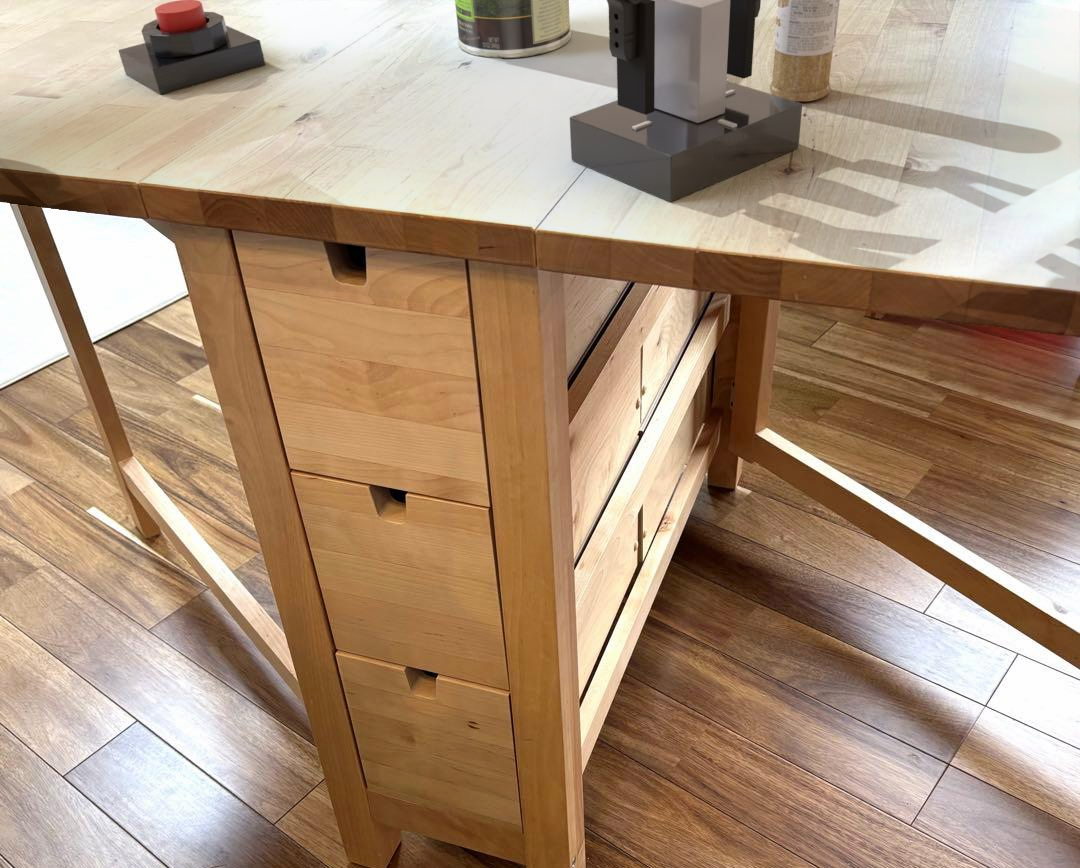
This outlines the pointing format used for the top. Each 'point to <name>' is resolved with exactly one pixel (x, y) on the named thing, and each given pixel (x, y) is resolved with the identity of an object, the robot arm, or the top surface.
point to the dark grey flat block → (685, 142)
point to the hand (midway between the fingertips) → (685, 89)
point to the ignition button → (180, 15)
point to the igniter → (190, 55)
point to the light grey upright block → (691, 57)
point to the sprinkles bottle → (804, 48)
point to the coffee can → (512, 27)
